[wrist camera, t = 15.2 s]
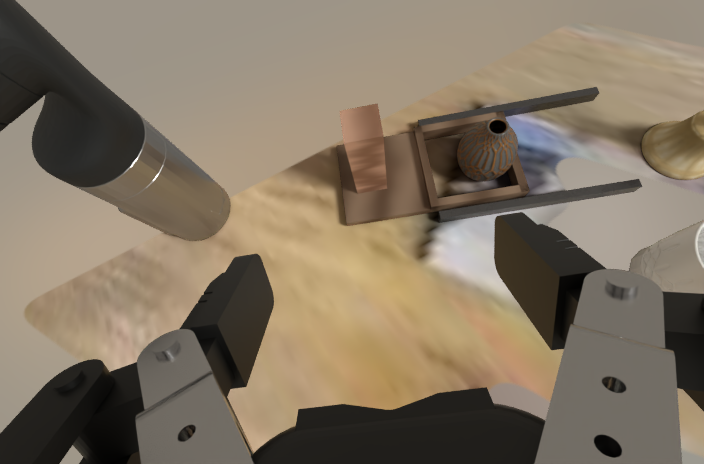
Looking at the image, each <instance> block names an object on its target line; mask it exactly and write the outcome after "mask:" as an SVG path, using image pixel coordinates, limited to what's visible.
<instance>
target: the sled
mask: <svg viewBox="0 0 704 464" xmlns="http://www.w3.org/2000/svg"><path fill="white" fill-rule="evenodd" d="M340 117H341V124H342V132H343V140H344V144H343V145H338V146H337V152H338V160H339V168H340V176H341V184H342V192H343V200H344V208H345V215H346V223H347V226H351V225H357V224H363V223H370V222H376V221H382V220H388V219H394V218H400V217H407V216H413V215H419V214H425V213H431V212H437V211H444V210H450V209H456V208H462V207H468V206H474V205H481V204H487V203H493V202H499V201H505V200H511V199H518V198H524V197H525V196H526V194H527V193H528V192H529V191H530V190H529V187H528V184H527V181H526V178H525V175H524V172H523V169H522V166H521V163H520V160H519V157H518V154H517V155H516V158H515V160H514V162H513V164H512V165H511V167H510V168H509V169H508V170H507V172H508V175H509V178H510V182H511V185H512V186H509V187H503V188H497V189H491V190H485V191H479V192H473V193H467V194H461V195H455V196H449V197H443V198H438V197H437V193H436V188H435V184H434V180H433V175H432V171H431V167H430V162H429V158H428V154H427V149H426V145H425V140H427V139H432V138H438V137H443V136H449V135H454V134H460V133H465V132H467V131H468V130H469V129H470V128H471V127H472V126H473V125H475V124H477V123H479V122H481V121H484V120H490V119H492V118H496V117H499V118H503V119H505V120H506V118H505V115H504V112H503V111H499V112H494V113H488V114H483V115H478V116H472V117H467V118H461V119H456V120H450V121H445V122H440V123H434V124H429V125H423V126H418V127H414V132H409V133H403V134H398V135H392V136H387V137H383V131H382V126H381V120H380V115H379V109H378V104H373V105H368V106H362V107H357V108H352V109H347V110H342V111H340Z"/></svg>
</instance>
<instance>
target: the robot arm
mask: <svg viewBox="0 0 704 464" xmlns="http://www.w3.org/2000/svg"><path fill="white" fill-rule="evenodd" d="M44 95H45V100H44V105H43V108H42V111H41V113H40V115H39V118H38V120H37V122H36V125H35V128H34V131H33V136H32V150H33V154H34V157H35V158H36V161H37V162H38V164H39V165H40V166H41V167H42V168H43V169H44V170H45V171H47V172H48V173H49V174H51V175H53V176H55V177H56V178H58V179H60V180H62V181H64V182H67V183H69V184H71V185H73V186H75V187H77V188H79V189H81V190H84V191H86V192H88V193H90V194H92V195H94V196H96V197H98V198H100V199H103V200H105V201H107V202H109V203H111V204H113V205H115V206H117V207H118V209H119V211H120V212H122V213H124V214H126V215H128V216H130V217H132V218H134V219H137V220H139V221H141V222H143V223H145V224H147V225H149V226H151V227H153V228H156V229H158V230H160V231H162V232H164V233H166V234H168V235H177V236H179V237H181V238H183V239H186V240H189V241H199V240H204V239H206V238H209V237H211V236H212V235H214V234H215V233H217V232H218V231H219V230H220V229H221V228H222V226H223V225H224V224H225V222H226V220H227V218H228V215H229V212H230V199H229V196H228V194H227V193H226V191H225V190H224V189H223V188H222V187H221V186H220V185H219V184H218V183H216V182H215V181H214V180H213V179H212V178H211V177H210V176H209V175H208V174H206V173H205V172H204V171H203V170H202V169H201V168H200V167H199V166H197V165H196V164H195V163H194V162H193V161H192V160H191V159H190V158H188V157H187V156H186V155H185V154H184V153H183V152H181V151H180V150H179V149H178V148H177V147H176V146H175V145H174V144H172V143H171V142H170V141H169V140H168V139H167V138H165V136H163V135H162V134H161V133H160V132H159V131H158V130H156V129H155V128H154V127H153V126H152V125H151V124H150V123H149V122H147V121H146V120H145V119H144V118H143V117H142V116H141V115H139V114H138V113H137V112H136V111H135V110H133V109H132V108H131V107H130V106H129V105H128V104H126V103H125V102H124V101H123V100H122V99H121V98H119V97H118V96H117V95H116V94H115V93H113V92H112V91H111V90H110V89H108V88H107V87H106V86H105V85H104V84H103V83H102V82H100V81H99V80H98V79H97V78H96V77H95V76H94V75H92V74H91V73H90V72H89V71H88V70H87V69H86V68H85V67H84V66H83V65H82V64H81V63H80V62H79V61H78V60H76V58H75V57H74V56H72V55H71V54H70V53H69V52H68V51H67V50H66V49H65V48H64V47H63V46H62V45H61V44H60V43H59V42H58V41H57V40H56V39H55V38H54V37H53V36H52V35H51V34H50V33H48V31H47V30H46V29H44V27H42V26H41V25H40V24H39V23H38V22H37V21H36V20H35V19H34V18H33V17H32V16H31V15H30V14H29V13H28V12H27V11H26V10H25V9H24V8H23V7H22V6H21V5H19V4H18V3H17V2H16V1H15V0H0V131H2V130H3V129H4V128H5V127H6V126H7V125H8V124H9V123H12V122H13V121H14V120H15V119H16V118H18V117H19V116H20V115H21V114H22V113H24V112H25V111H26V110H27V109H28V108H30V107H31V106H32V105H33V104H34V103H36V102H37V101H38V100H39V99H41V98H42V97H43V96H44ZM494 259H495V266H496V269H497V272H498V274H499V276H500V278H501V279H502V280H503V282H504V283H505V285H506V286H507V288H508V289H509V290H510V292H511V293H512V295H513V296H514V298H515V299H516V300H517V302H518V303H519V305H520V306H521V308H522V309H523V310H524V312H525V313H526V315H527V316H528V318H529V319H530V320H531V322H532V323H533V325H534V326H535V328H536V329H537V330H538V332H539V333H540V335H541V336H542V338H543V339H544V340H545V342H546V343H547V345H548V346H549V348H550V349H551V350H557V349H564V352H563V355H562V359H561V363H560V367H559V371H558V375H557V379H556V382H555V386H554V390H553V394H552V398H551V402H550V406H549V410H548V414H547V417H546V421H545V420H543V419H541V418H539V417H537V416H535V415H532V414H530V413H528V412H525V411H523V410H519V409H517V408H514V407H509V406H505V405H501V404H494V403H493V402H492V399H491V397H490V394H489V392H488V389H487V387H486V388H478V389H469V390H460V391H452V392H443V393H437V394H435V395H432V396H429V397H427V398H424V399H421V400H419V401H416V402H413V403H411V404H408V405H405V406H403V407H400V408H397V409H394V410H383V409H376V408H368V407H361V406H353V405H346V404H340V405H332V406H323V407H314V408H306V409H299V410H298V416H297V422H296V426H294V427H292V428H290V429H288V430H286V431H284V432H282V433H280V434H278V435H277V436H275V437H274V438H272V439H270V440H269V441H268V442H266V443H265V444H264V445H263V446H261V447H260V448H259V449H258V450H257V451H256V452H255V453H254V452H253V450H252V448H251V446H250V444H249V442H248V439H247V437H246V435H245V433H244V431H243V429H242V427H241V425H240V423H239V421H238V418H237V416H236V414H235V412H234V410H233V408H232V406H231V404H230V402H229V400H228V398H227V396H228V394H229V391H230V389H233V388H241V387H246V386H247V383H248V380H249V377H250V374H251V371H252V368H253V366H254V363H255V360H256V357H257V354H258V351H259V348H260V345H261V342H262V339H263V336H264V333H265V330H266V327H267V324H268V321H269V318H270V315H271V312H272V310H273V305H274V297H273V291H272V288H271V285H270V282H269V280H268V277H267V274H266V271H265V268H264V265H263V262H262V260H261V258H260V256H259V255H258V254H252V255H245V256H239V257H235V258H234V259H233V261H232V262H231V264H230V265H229V267H228V269H227V270H226V272H225V273H222V274H221V275H219V276H218V277H217V278H216V279H215V280H213V281H212V282H211V283H210V284H209V286H208V287H207V289H206V290H205V292H204V295H202V296H201V298H200V299H199V301H198V303H197V304H196V305H195V307H194V308H193V310H192V311H191V313H190V314H189V316H188V317H187V319H186V320H185V322H184V323H183V325H182V326H181V328H180V329H179V330H175V331H171V332H169V333H166V334H164V335H162V336H160V337H159V338H157V339H155V340H154V341H153V342H151V343H150V344H149V345H148V346H147V347H146V348H145V349H144V350H143V351H142V352H141V354H140V355H139V357H138V360H137V362H136V363H133V364H131V365H128V366H125V367H122V368H120V369H117V370H114V371H111V372H109V370H108V369H107V368H106V366H105V365H104V363H103V362H102V361H101V360H97V359H93V360H87V361H83V362H80V363H78V364H76V365H73V366H72V367H69V368H68V369H66V370H64V371H63V372H61V373H59V374H58V375H57V376H55V377H54V378H53V379H51V380H50V381H49V382H48V383H47V384H46V385H45V386H44V387H43V388H42V389H41V390H40V391H39V392H38V393H37V394H36V396H35V397H34V398H33V399H32V400H31V401H30V402H29V403H28V404H27V405H26V406H25V407H24V408H23V410H22V411H21V412H20V413H19V414H18V415H17V416H16V417H15V418H14V419H13V420H12V422H11V423H10V424H9V425H8V426H7V427H6V428H5V429H4V430H3V432H1V433H0V464H59V463H60V462H61V460H62V459H63V458H64V456H65V455H66V453H67V452H68V450H69V449H70V448H71V446H72V445H73V446H74V447H75V448H76V449H77V450H78V451H79V453H81V455H82V456H83V459H82V460H81V462H80V463H79V464H682V457H681V439H680V424H679V409H678V394H677V388H680V389H683V390H684V391H685V392H686V393H687V394H688V395H689V396H690V397H691V398H692V399H693V400H694V402H695V403H696V404H697V405H698V406H699V407H700V408H701V409H702V410H703V411H704V294H699V293H681V292H664V291H662V290H661V288H660V287H659V286H658V285H657V284H656V283H655V282H653V281H652V280H650V279H648V278H646V277H644V276H642V275H639V274H636V273H633V272H629V271H624V270H617V269H606V268H605V267H603V266H602V265H601V264H600V263H598V262H597V261H596V260H595V259H593V258H592V257H591V256H589V255H588V254H587V253H586V252H584V251H583V250H582V249H581V248H578V247H577V245H576V244H574V243H573V242H572V241H571V240H570V241H569V239H568V238H567V237H566V236H564V235H563V234H562V233H561V232H559V231H558V230H556V229H553V228H550V227H548V226H545V225H543V224H540V225H537V224H536V223H535V222H533V221H532V220H531V219H530V218H529V217H527V216H526V215H525V214H524V213H522V212H520V213H513V214H507V215H501V216H497V217H496V219H495V248H494Z"/></svg>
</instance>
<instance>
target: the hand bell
mask: <svg viewBox="0 0 704 464" xmlns="http://www.w3.org/2000/svg"><path fill="white" fill-rule="evenodd" d="M641 146H642V153H643V155H644V157H645V159H646V161H647V162H648V163H649V164H650V165H651V166H652V167H653V168H654V169H655V170H657V171H658V172H659V173H661V174H663V175H665V176H668V177H671V178H674V179H680V180H692V179H697V178H700V177H703V176H704V111H701V112H699V113H697V114H695V115H693V116H692V117H690V118H688V119H686V120H684V121H681V122H680V121H671V122H665V123H661V124H658V125H655V126H654V127H652V128H651V129H649V130H648V131H647V132H646V133H645V135H644V137H643V139H642V145H641Z"/></svg>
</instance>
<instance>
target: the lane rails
mask: <svg viewBox="0 0 704 464" xmlns="http://www.w3.org/2000/svg"><path fill="white" fill-rule="evenodd" d="M598 94H599V91H598V89H597V87H594V88H589V89H583V90H578V91H572V92H567V93H562V94H556V95H551V96H546V97H540V98H535V99H529V100H524V101H519V102H513V103H508V104H503V105H497V106H492V107H486V108H481V109H476V110H470V111H465V112H460V113H454V114H449V115H443V116H438V117H433V118H427V119H422V120H418V126H423V125H429V124H434V123H440V122H445V121H450V120H456V119H461V118H467V117H472V116H478V115H483V114H488V113H494V112H499V111H503V112H504V115H505V117H506V116H512V115H517V114H523V113H528V112H534V111H539V110H545V109H550V108H556V107H561V106H566V105H572V104H577V103H583V102H588V101H593V100H594V99H595V98H596V96H597V95H598ZM640 187H642V185H641V183H640V181H639V179H636V180H630V181H624V182H617V183H611V184H605V185H599V186H592V187H586V188H580V189H574V190H568V191H562V192H555V193H549V194H543V195H537V196H531V197H525V198H518V199H512V200H506V201H500V202H494V203H488V204H481V205H475V206H469V207H463V208H457V209H451V210H444V211H439V213H438V219H439V223H440V222H447V221H453V220H459V219H466V218H472V217H478V216H484V215H491V214H497V213H503V212H509V211H516V210H522V209H528V208H535V207H541V206H547V205H553V204H560V203H566V202H572V201H579V200H584V199H591V198H597V197H604V196H610V195H616V194H622V193H629V192H634V191H636V190H637V189H639V188H640Z"/></svg>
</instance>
